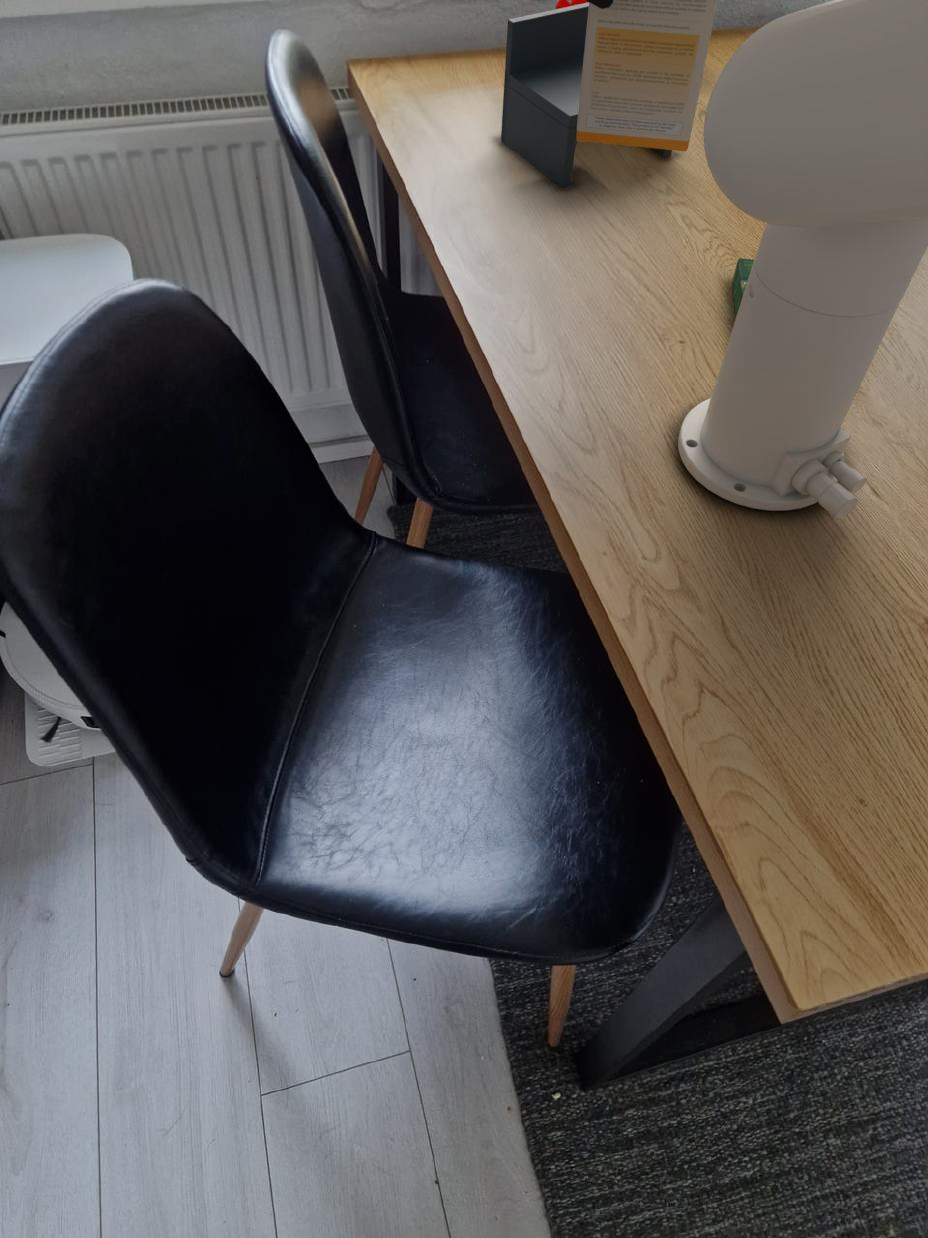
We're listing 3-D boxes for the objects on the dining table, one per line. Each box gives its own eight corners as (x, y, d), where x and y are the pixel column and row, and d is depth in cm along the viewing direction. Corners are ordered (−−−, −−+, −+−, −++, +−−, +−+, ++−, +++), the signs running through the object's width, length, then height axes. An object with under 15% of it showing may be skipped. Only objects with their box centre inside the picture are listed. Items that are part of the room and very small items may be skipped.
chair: (671, 155, 98) (696, 33, 89) (561, 187, 94) (576, 63, 84) (606, 112, 104) (623, -6, 95) (500, 140, 100) (507, 19, 90)
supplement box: (689, 125, 66) (735, -95, 55) (686, 154, 63) (734, -72, 53) (579, 114, 67) (604, -105, 56) (572, 142, 64) (596, -83, 53)
